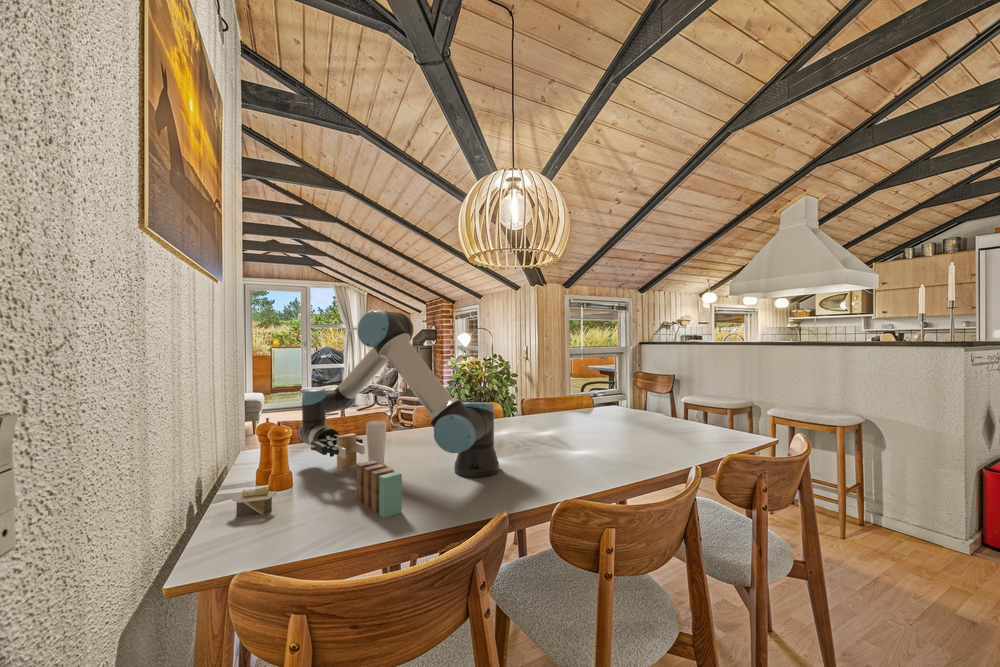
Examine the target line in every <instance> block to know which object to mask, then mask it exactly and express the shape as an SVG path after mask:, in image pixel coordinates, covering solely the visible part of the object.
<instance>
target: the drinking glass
mask: <svg viewBox="0 0 1000 667" xmlns="http://www.w3.org/2000/svg"><path fill="white" fill-rule="evenodd" d="M365 427H366V429H365V433H366V436H365V437H366V446H367V458H368V461H367V462H369V461H373V460H374V461H376V462H378V464H382V465H385V455H386V454H385V453H386V452H385V451H386V443H387V442H386V440H387V421H384V420H372V421H369V422H367V423H366V426H365Z"/></svg>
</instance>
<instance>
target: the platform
mask: <svg viewBox="0 0 1000 667" xmlns="http://www.w3.org/2000/svg"><path fill="white" fill-rule="evenodd" d="M276 495H277V491H276V490H274V491H272V490H271V491H269V487H266V489H265V487H261V488H255V490H254V488H251V489H248V491H247V489H243V490H242V492H241V494H239V495H233V496H232V497H231V501H233V502H235V503H236V511H235V512H236V516H240V515H249V514H257V513H258V514H260V515H264V514H265V512H272V510H273V506H272V505H273V504H272V503H273V499H272V498H273V497H275V496H276Z"/></svg>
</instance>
